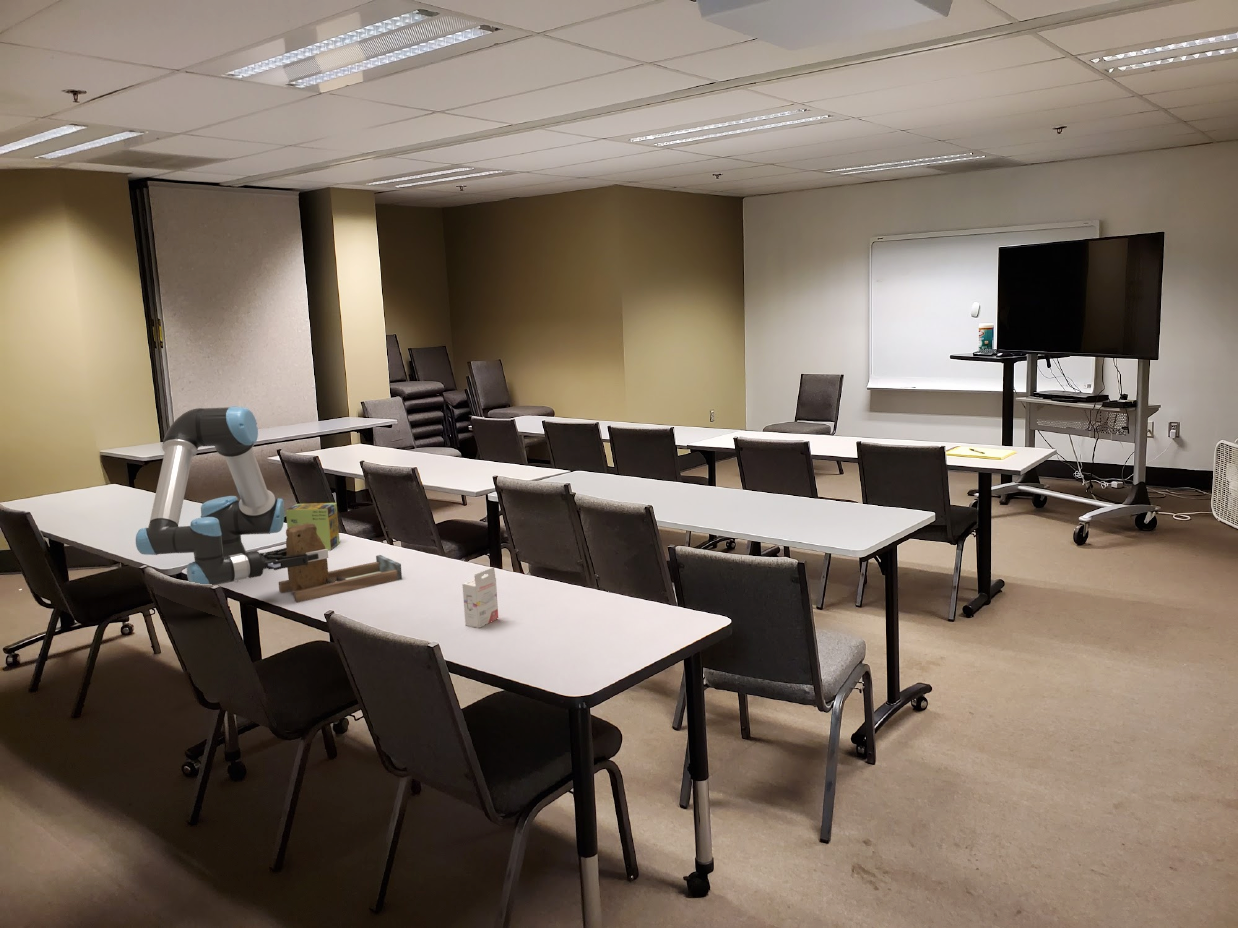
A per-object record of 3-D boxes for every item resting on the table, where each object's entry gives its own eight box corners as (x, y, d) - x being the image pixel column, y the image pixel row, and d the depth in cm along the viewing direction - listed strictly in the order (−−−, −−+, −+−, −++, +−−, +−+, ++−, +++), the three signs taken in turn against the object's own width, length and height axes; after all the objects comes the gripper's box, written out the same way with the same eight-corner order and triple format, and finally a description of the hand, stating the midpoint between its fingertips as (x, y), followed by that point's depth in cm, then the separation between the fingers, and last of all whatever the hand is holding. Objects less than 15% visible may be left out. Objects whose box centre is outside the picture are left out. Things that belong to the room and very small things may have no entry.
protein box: (331, 550, 330) (327, 508, 327) (288, 551, 330) (284, 509, 328) (340, 543, 340) (337, 502, 338) (299, 544, 340) (295, 503, 338)
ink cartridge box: (484, 616, 254) (482, 564, 251) (499, 618, 251) (496, 566, 249) (464, 625, 247) (460, 572, 244) (478, 628, 244) (475, 574, 242)
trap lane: (279, 591, 282) (277, 575, 282) (381, 569, 303) (380, 554, 302) (297, 602, 271) (295, 585, 270) (401, 579, 292) (400, 563, 291)
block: (297, 595, 274) (291, 530, 271) (287, 590, 280) (281, 526, 277) (332, 587, 282) (326, 523, 278) (321, 582, 287) (316, 520, 284)
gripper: (236, 570, 276) (311, 556, 290) (258, 585, 261) (336, 569, 275) (233, 546, 275) (309, 533, 289) (256, 560, 259) (334, 545, 273)
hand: (322, 550), depth 282 cm, fingers closed on block, 7 cm apart
